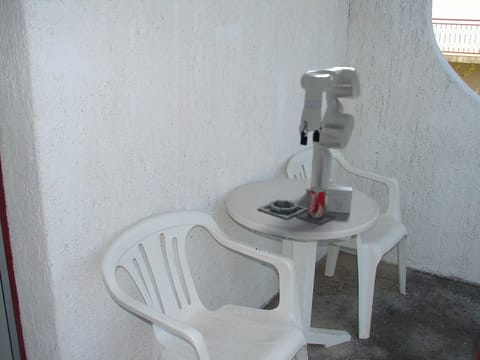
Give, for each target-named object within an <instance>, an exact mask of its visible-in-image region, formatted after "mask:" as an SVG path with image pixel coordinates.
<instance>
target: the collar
mask: <svg viewBox="0 0 480 360" xmlns="http://www.w3.org/2000/svg"><path fill="white" fill-rule="evenodd" d="M285 207H286V208H285ZM257 210H258V211H260V212H263V213H266V214H270V215H272V216H275V217H277V218H282V219H284V220H290V219H292V218H294V217H296V216H297V215H300V214H302V213H304V212H306V211H308V207H304V206H302V205H298V204H297V202H294V201H291V200H288V199H275V200H272V201H270V202H269V203H266V204H265V205H262V206H259V207H257Z"/></svg>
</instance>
